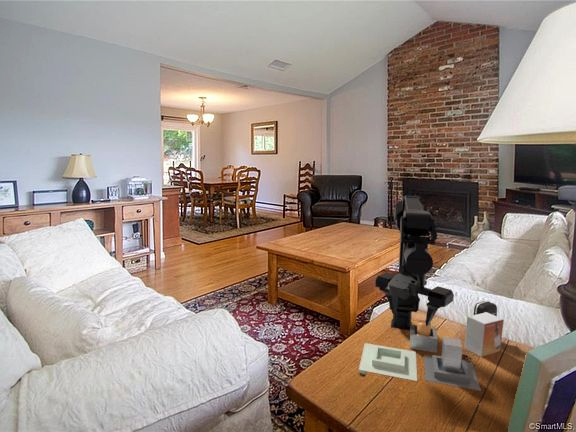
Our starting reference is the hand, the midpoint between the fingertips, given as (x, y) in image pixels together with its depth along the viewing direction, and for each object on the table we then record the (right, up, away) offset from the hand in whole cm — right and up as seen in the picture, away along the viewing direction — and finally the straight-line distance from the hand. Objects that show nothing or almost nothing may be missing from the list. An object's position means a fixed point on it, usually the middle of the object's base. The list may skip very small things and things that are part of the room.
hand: (410, 319), depth 91 cm
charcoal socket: (+9, -14, -2) cm, 17 cm away
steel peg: (+9, -13, -2) cm, 16 cm away
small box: (+24, -12, +9) cm, 28 cm away
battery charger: (+28, -11, +17) cm, 35 cm away
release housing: (+7, -11, +11) cm, 17 cm away
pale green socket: (-5, -13, +3) cm, 14 cm away
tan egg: (+7, -9, +11) cm, 16 cm away
